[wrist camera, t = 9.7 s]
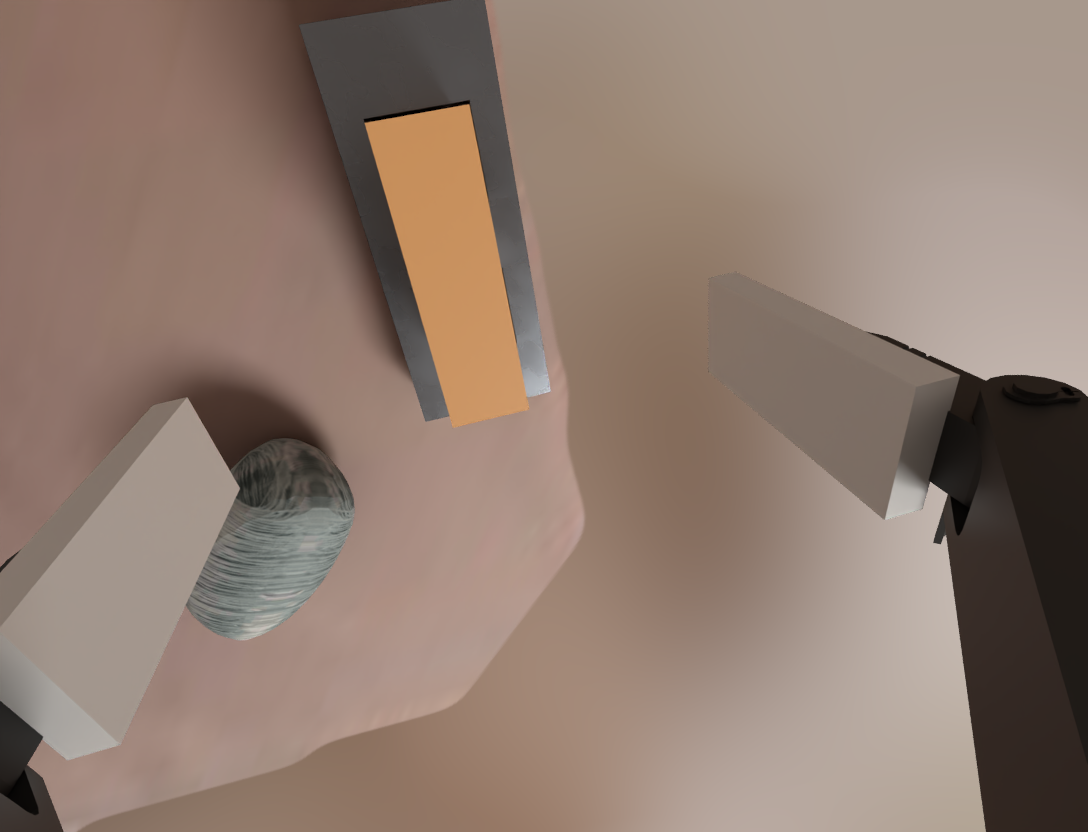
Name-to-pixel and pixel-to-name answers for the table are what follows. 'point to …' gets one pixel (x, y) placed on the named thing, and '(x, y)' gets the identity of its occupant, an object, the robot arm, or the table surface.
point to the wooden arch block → (452, 258)
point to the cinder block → (409, 85)
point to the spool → (273, 539)
